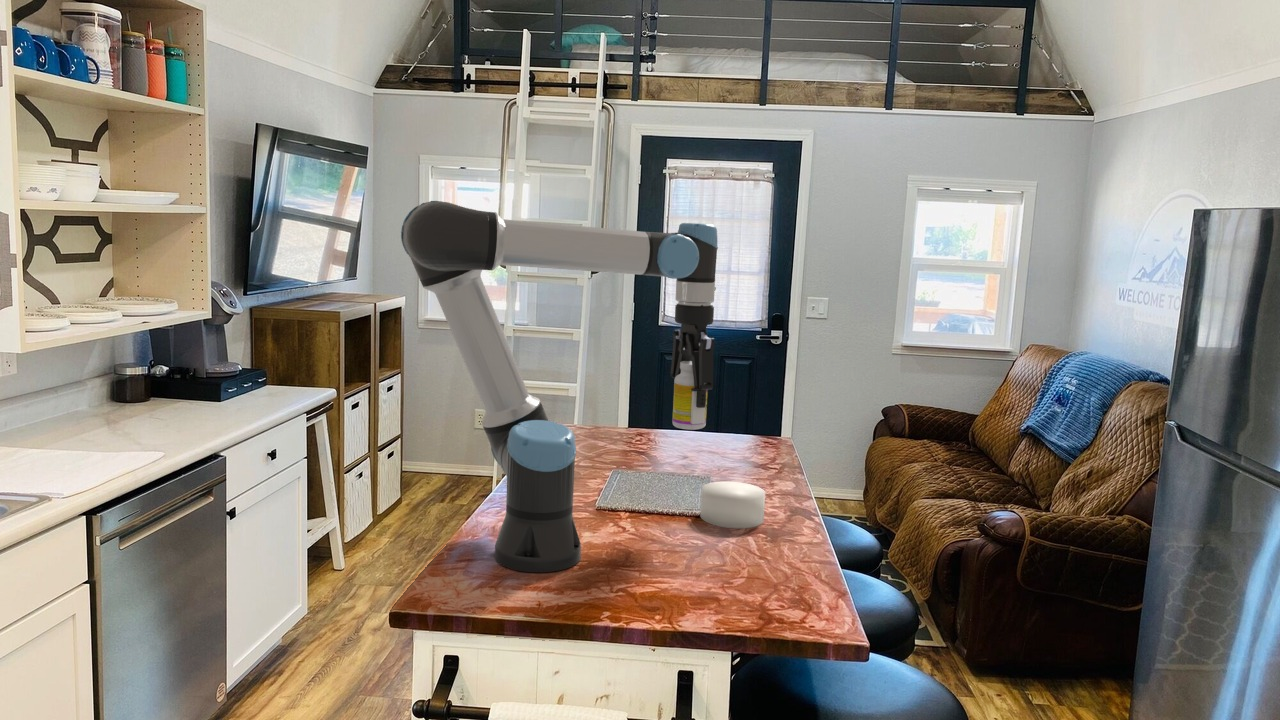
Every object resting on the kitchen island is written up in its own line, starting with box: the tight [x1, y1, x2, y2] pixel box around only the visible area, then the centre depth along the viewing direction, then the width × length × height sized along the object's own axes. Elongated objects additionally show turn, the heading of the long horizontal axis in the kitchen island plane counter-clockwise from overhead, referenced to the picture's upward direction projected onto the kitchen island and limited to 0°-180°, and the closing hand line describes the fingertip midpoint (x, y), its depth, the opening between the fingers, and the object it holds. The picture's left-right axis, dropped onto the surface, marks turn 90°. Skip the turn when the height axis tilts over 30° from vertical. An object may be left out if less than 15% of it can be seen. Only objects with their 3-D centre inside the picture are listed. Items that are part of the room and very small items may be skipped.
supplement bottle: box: [671, 361, 708, 431], centre depth 181 cm, size 7×7×13 cm
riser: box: [699, 480, 766, 529], centre depth 189 cm, size 13×13×6 cm
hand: (689, 418), depth 182 cm, fingers closed on supplement bottle, 7 cm apart
